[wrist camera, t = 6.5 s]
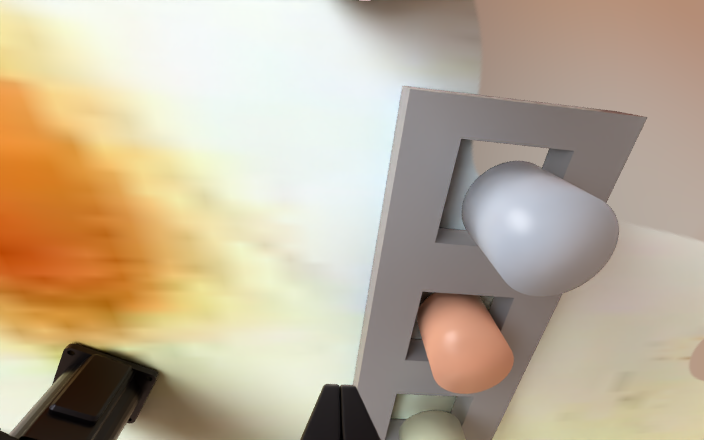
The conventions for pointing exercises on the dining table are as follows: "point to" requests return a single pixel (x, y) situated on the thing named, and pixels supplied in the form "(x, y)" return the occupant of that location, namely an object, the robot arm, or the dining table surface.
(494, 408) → the button panel
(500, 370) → the terracotta button
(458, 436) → the sage button
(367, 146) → the dining table surface
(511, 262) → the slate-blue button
